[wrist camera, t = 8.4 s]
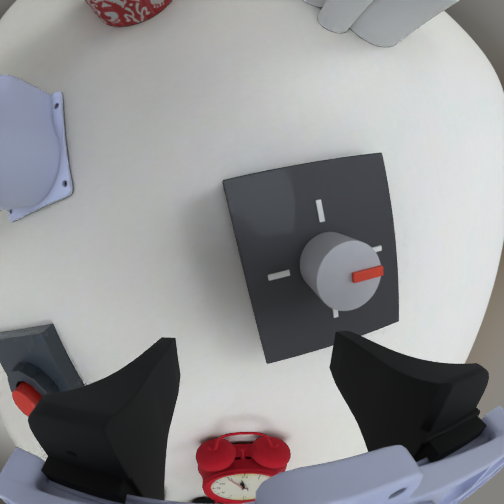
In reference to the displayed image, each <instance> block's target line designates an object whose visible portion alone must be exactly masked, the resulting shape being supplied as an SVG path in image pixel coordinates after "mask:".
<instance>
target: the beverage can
mask: <svg viewBox="0 0 504 504" xmlns="http://www.w3.org/2000/svg"><path fill="white" fill-rule="evenodd" d="M192 503H202V504H216V503H215V500H212V499H211V498H199V499H196V500H195V501H193V502H192ZM217 504H225V503H221V502H218V503H217Z"/></svg>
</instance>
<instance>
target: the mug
mask: <svg viewBox="0 0 504 504" xmlns="http://www.w3.org/2000/svg"><path fill="white" fill-rule="evenodd" d="M85 1H86V2H87V4H88V5H89V6H90V7H91V8H92V9H93V11H94V12H95V13H96V14H97V15H98V17H99V18H100V19H101V20H102V21H103V22H104V23H106V24H108V25H111V26H117V27H122V26H129V25H133V24H137V23H140V22H142V21H145V20H147V19H149V18H151V17H153V16H155V15H156V14H158V13H159V12H161V11H162V10H163V9H164V8H165V7H166V6H167V5H168V4H169V3H170V2H171V1H172V0H85Z"/></svg>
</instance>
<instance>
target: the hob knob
mask: <svg viewBox="0 0 504 504" xmlns="http://www.w3.org/2000/svg"><path fill="white" fill-rule="evenodd" d="M300 271H301V274H302V277H303V279H304V280H305V282H306V283H307V284H308V285H309V286H310V288H311V289H312V290H313V291H314V292H315V293H316V294H317V295H318V296H319V298H320V299H321V300H322V301H323V302H324V303H325V304H326V305H327V306H329V307H330V308H332V309H335V310H339V311H349V310H353V309H356V308H358V307H360V306H362V305H364V304H365V303H366V302H367V301H368V300H369V299H370V298H371V297H372V296H373V295H374V293H375V291H376V289H377V287H378V285H379V282H380V278H381V276H383V275H384V272H383V266H382V265H381V264H380V260H379V258H378V255H377V254H376V252H375V251H374V249H373V248H372V247H370V246H369V245H368V244H366V243H364V242H361V241H359V240H356V239H353V238H351V237H348V236H345V235H342V234H340V233H336V232H325V233H321V234H319V235H317V236H315V237H314V238H312V239H311V240H310V241H309V242H308V243H307V245H306V246H305V248H304V249H303V252H302V254H301V258H300Z"/></svg>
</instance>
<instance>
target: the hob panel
mask: <svg viewBox="0 0 504 504" xmlns="http://www.w3.org/2000/svg"><path fill="white" fill-rule="evenodd" d="M223 186H224V191H225V195H226V199H227V203H228V208H229V212H230V216H231V220H232V225H233V229H234V233H235V237H236V241H237V246H238V250H239V254H240V258H241V262H242V266H243V270H244V275H245V279H246V283H247V287H248V291H249V295H250V299H251V303H252V307H253V311H254V315H255V319H256V323H257V327H258V331H259V335H260V339H261V343H262V347H263V351H264V355H265V359H266V363H267V364H269V363H273V362H277V361H280V360H284V359H288V358H292V357H295V356H299V355H302V354H306V353H309V352H313V351H316V350H319V349H323V348H326V347H329V346H332V345H334V339H335V332H338V331H350V332H353V333H355V334H358V335H360V336H361V335H364V334H367V333H369V332H372V331H375V330H377V329H380V328H383V327H385V326H388V325H390V324H393V323H395V322H398V321H399V292H398V268H397V254H396V242H395V232H394V223H393V215H392V208H391V201H390V194H389V188H388V182H387V177H386V171H385V166H384V161H383V156H382V153H373V154H365V155H357V156H350V157H343V158H336V159H329V160H323V161H316V162H310V163H305V164H299V165H293V166H288V167H283V168H277V169H272V170H267V171H262V172H258V173H253V174H248V175H244V176H239V177H235V178H230V179H226V180H223ZM325 232H336V233H340V234H342V235H345V236H348V237H351V238H353V239H356V240H359V241H361V242H364V243H366V244H368V245H369V246H370V247H372V248H373V249H374V251H375V252H376V254H377V255H378V258H379V260H380V264H381V265H382V266H383V272H384V275H383V276H381V278H380V282H379V285H378V287H377V289H376V291H375V293H374V295H373V296H372V297H371V298H370V299H369V300H368V301H367V302H366V303H365V304H364V305H362V306H360V307H358V308H356V309H353V310H349V311H339V310H335V309H332V308H330V307H329V306H327V305H326V304H325V303H324V302H323V301H322V300H321V299H320V298H319V296H318V295H317V294H316V293H315V292H314V291H313V290H312V289H311V288H310V286H309V285H308V284H307V283H306V282H305V280H304V279H303V277H302V274H301V271H300V258H301V254H302V252H303V249H304V248H305V246H306V245H307V243H308V242H309V241H310V240H311V239H312V238H314V237H315V236H317V235H319V234H321V233H325Z"/></svg>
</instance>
